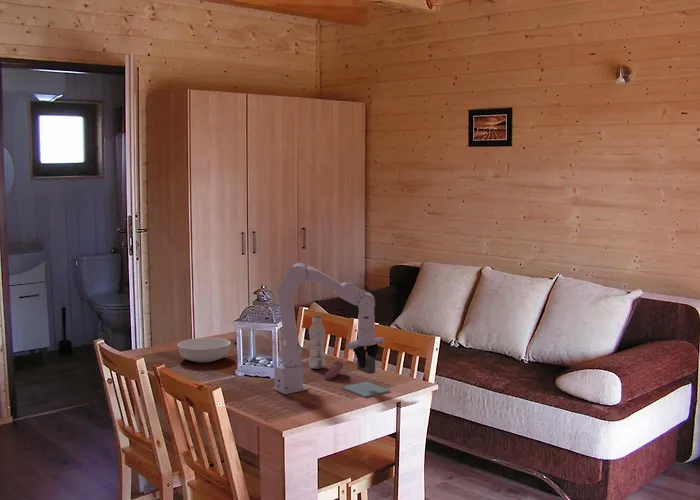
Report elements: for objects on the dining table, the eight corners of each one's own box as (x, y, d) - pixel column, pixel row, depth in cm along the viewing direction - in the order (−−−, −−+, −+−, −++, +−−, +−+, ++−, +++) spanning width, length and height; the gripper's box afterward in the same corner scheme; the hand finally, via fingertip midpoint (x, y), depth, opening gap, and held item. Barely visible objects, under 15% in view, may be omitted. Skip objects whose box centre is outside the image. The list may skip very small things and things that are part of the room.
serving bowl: (242, 357, 311) (241, 341, 311) (205, 369, 294) (205, 352, 293) (203, 350, 322) (203, 334, 322) (166, 362, 305) (166, 344, 304)
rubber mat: (364, 397, 260) (364, 396, 260) (342, 388, 270) (342, 386, 270) (390, 391, 267) (390, 390, 266) (367, 383, 277) (367, 381, 277)
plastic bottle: (305, 369, 294) (305, 318, 292) (313, 365, 300) (313, 314, 298) (321, 371, 292) (321, 319, 289) (328, 367, 298) (328, 316, 295)
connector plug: (369, 374, 263) (369, 359, 263) (351, 367, 272) (351, 353, 271) (377, 372, 265) (377, 358, 265) (358, 365, 274) (358, 352, 273)
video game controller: (333, 384, 280) (342, 368, 279) (322, 378, 281) (330, 362, 279) (339, 377, 290) (347, 361, 289) (328, 371, 290) (336, 355, 289)
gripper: (356, 333, 258) (356, 372, 260) (390, 327, 267) (389, 365, 269) (344, 329, 264) (343, 368, 266) (377, 323, 272) (376, 361, 274)
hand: (366, 366), depth 267 cm, fingers closed on connector plug, 3 cm apart
